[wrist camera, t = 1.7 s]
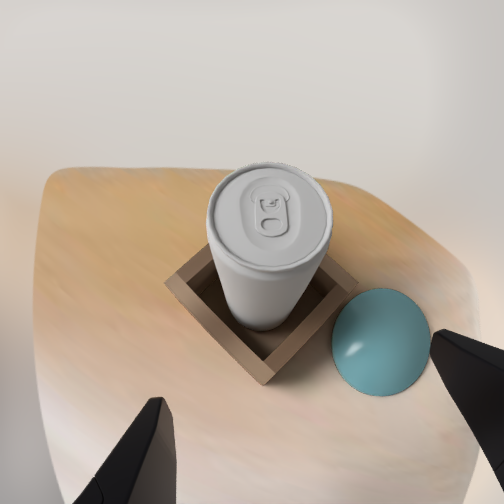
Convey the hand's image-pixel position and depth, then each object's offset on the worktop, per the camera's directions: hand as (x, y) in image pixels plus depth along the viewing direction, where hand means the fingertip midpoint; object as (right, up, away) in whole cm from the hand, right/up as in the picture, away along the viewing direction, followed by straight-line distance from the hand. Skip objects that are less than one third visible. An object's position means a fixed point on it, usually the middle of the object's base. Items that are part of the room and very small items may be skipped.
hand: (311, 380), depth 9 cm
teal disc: (+8, -3, +12) cm, 15 cm away
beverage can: (-1, 0, +14) cm, 14 cm away
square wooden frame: (-1, +1, +13) cm, 13 cm away
